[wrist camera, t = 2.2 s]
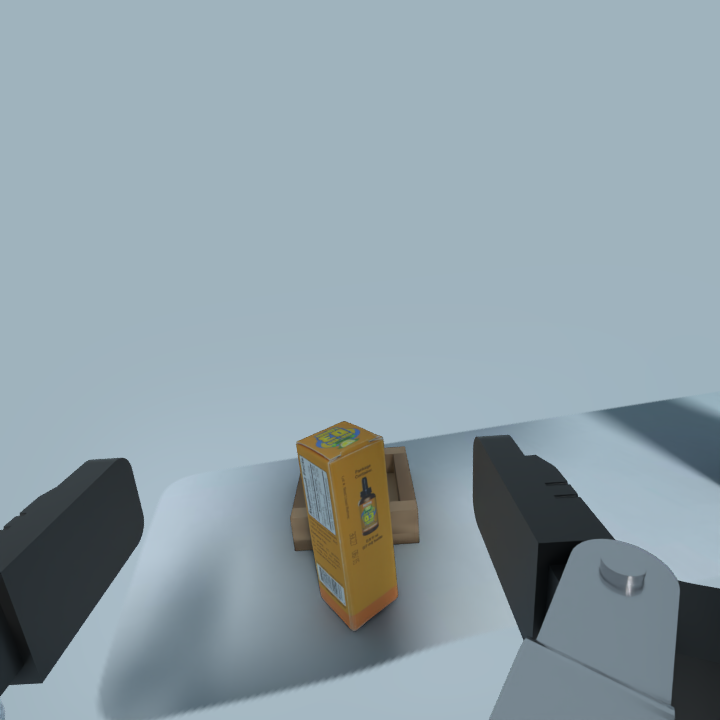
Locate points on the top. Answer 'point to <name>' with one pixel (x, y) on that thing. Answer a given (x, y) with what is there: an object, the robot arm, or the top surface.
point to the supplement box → (349, 520)
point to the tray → (399, 501)
